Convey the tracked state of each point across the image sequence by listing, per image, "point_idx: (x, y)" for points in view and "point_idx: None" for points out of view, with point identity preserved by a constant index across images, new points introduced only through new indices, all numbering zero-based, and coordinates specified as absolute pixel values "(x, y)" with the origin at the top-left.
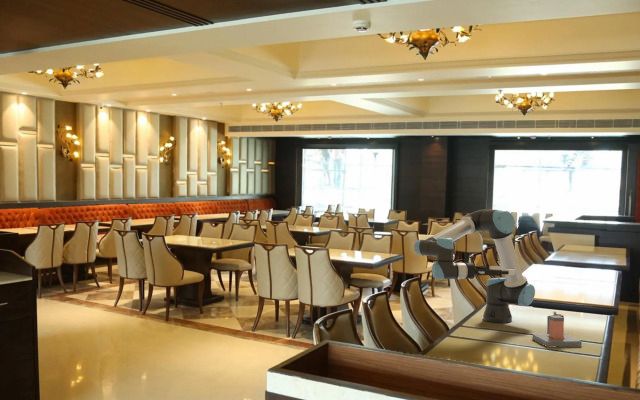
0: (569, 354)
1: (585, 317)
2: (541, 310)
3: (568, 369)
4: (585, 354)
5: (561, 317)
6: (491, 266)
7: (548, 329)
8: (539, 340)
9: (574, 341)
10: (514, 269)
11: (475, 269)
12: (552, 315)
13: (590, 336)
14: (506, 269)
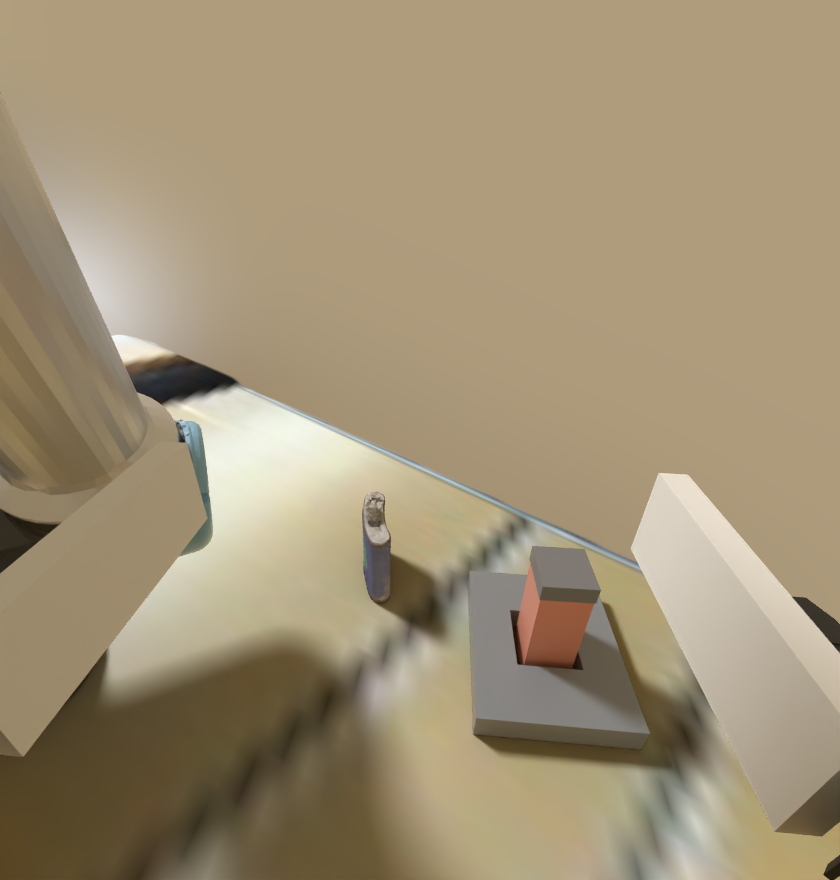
0: None
1: (229, 420)
2: None
3: None
4: None
5: (582, 556)
6: (2, 618)
7: (384, 587)
8: (557, 733)
9: (602, 604)
10: (681, 475)
11: None
12: (367, 522)
13: (438, 504)
14: (761, 587)
